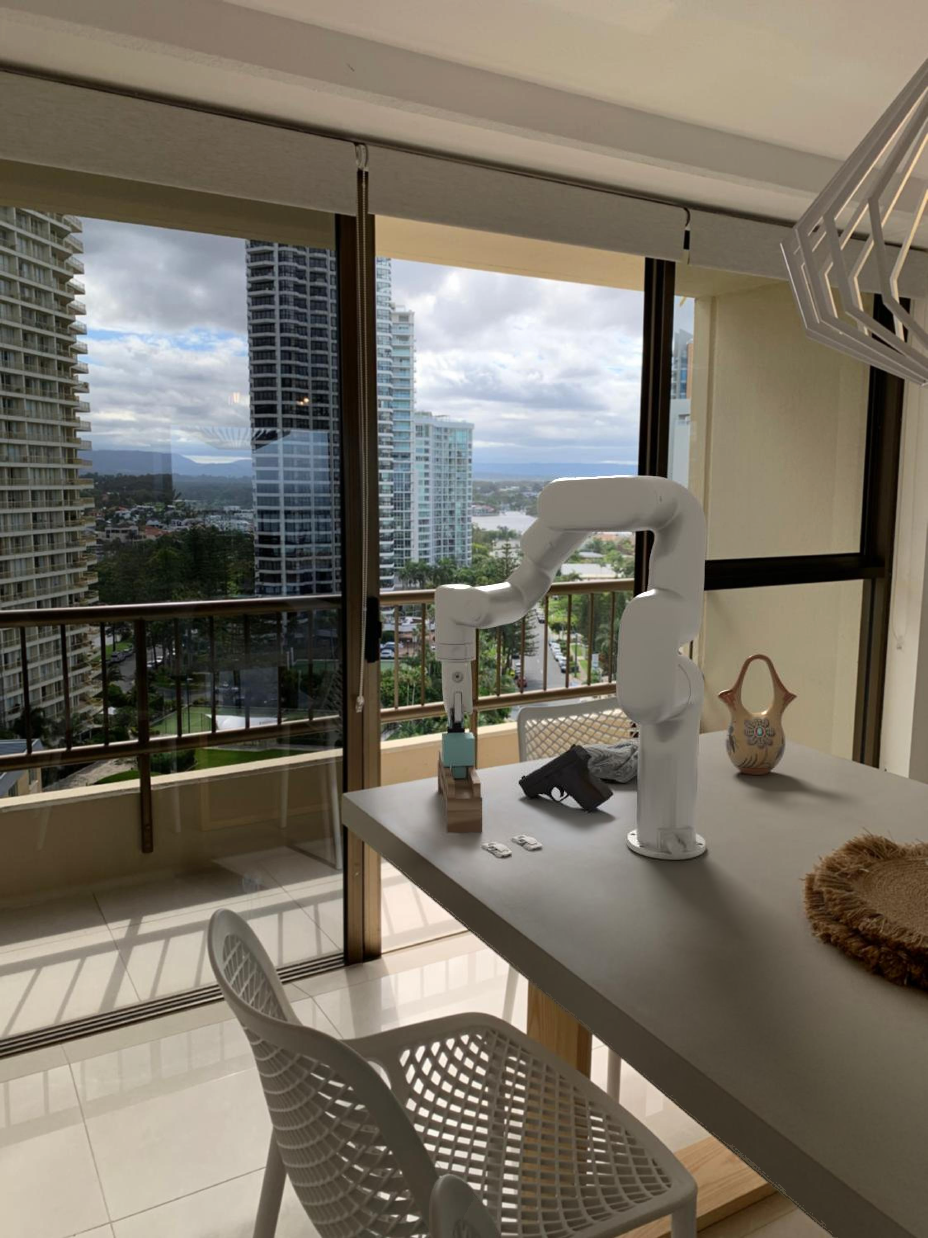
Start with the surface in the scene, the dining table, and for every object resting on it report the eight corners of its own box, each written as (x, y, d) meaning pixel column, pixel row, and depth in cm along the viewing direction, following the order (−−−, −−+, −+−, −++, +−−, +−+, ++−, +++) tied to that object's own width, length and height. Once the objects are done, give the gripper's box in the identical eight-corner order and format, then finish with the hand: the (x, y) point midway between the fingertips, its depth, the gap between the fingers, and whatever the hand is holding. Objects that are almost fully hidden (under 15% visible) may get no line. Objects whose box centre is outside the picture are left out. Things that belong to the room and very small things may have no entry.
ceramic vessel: (785, 766, 195) (789, 649, 192) (801, 778, 186) (806, 656, 183) (708, 767, 195) (712, 650, 192) (721, 779, 186) (725, 657, 183)
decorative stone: (560, 756, 192) (579, 713, 191) (607, 770, 199) (627, 729, 198) (598, 787, 179) (620, 741, 178) (648, 801, 186) (669, 757, 185)
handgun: (606, 801, 164) (573, 743, 167) (544, 836, 173) (514, 780, 176) (616, 796, 167) (583, 739, 170) (554, 831, 176) (524, 776, 179)
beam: (483, 831, 157) (483, 784, 156) (446, 833, 157) (446, 785, 156) (469, 788, 181) (468, 747, 180) (437, 789, 180) (436, 748, 179)
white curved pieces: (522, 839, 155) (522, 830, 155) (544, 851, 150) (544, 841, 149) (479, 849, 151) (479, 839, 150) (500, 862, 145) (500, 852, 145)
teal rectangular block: (474, 778, 166) (474, 738, 165) (443, 779, 166) (443, 739, 165) (472, 771, 171) (472, 732, 170) (442, 772, 170) (441, 733, 169)
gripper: (479, 657, 163) (480, 758, 165) (471, 644, 178) (472, 737, 180) (437, 658, 162) (438, 759, 164) (432, 645, 177) (433, 738, 179)
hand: (456, 747), depth 172 cm, fingers closed
